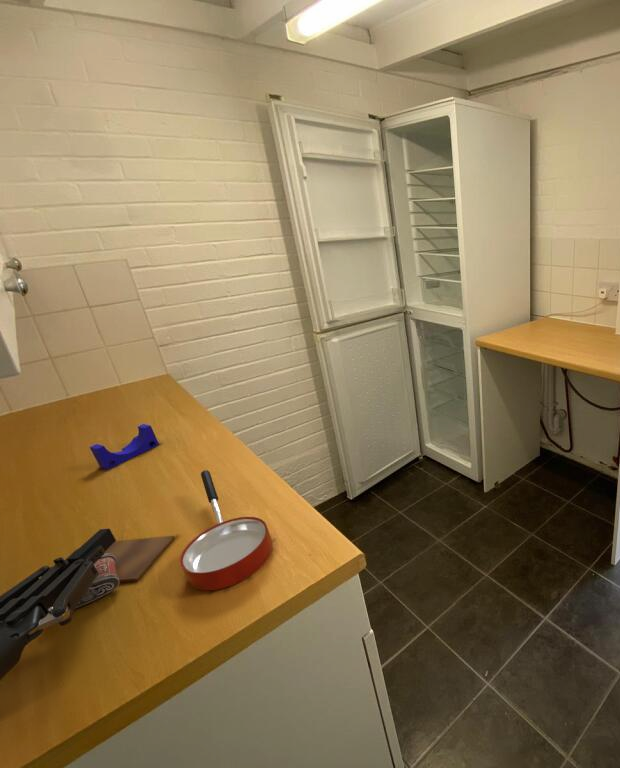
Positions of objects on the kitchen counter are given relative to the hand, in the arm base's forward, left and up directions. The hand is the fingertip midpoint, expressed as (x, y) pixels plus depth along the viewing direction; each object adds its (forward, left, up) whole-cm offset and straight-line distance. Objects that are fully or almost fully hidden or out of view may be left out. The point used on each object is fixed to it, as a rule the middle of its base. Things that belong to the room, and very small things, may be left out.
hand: (108, 535), depth 71 cm
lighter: (0, -8, -5) cm, 9 cm away
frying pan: (+13, +6, -8) cm, 16 cm away
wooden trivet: (-2, +2, -8) cm, 8 cm away
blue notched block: (-28, +41, -8) cm, 50 cm away
